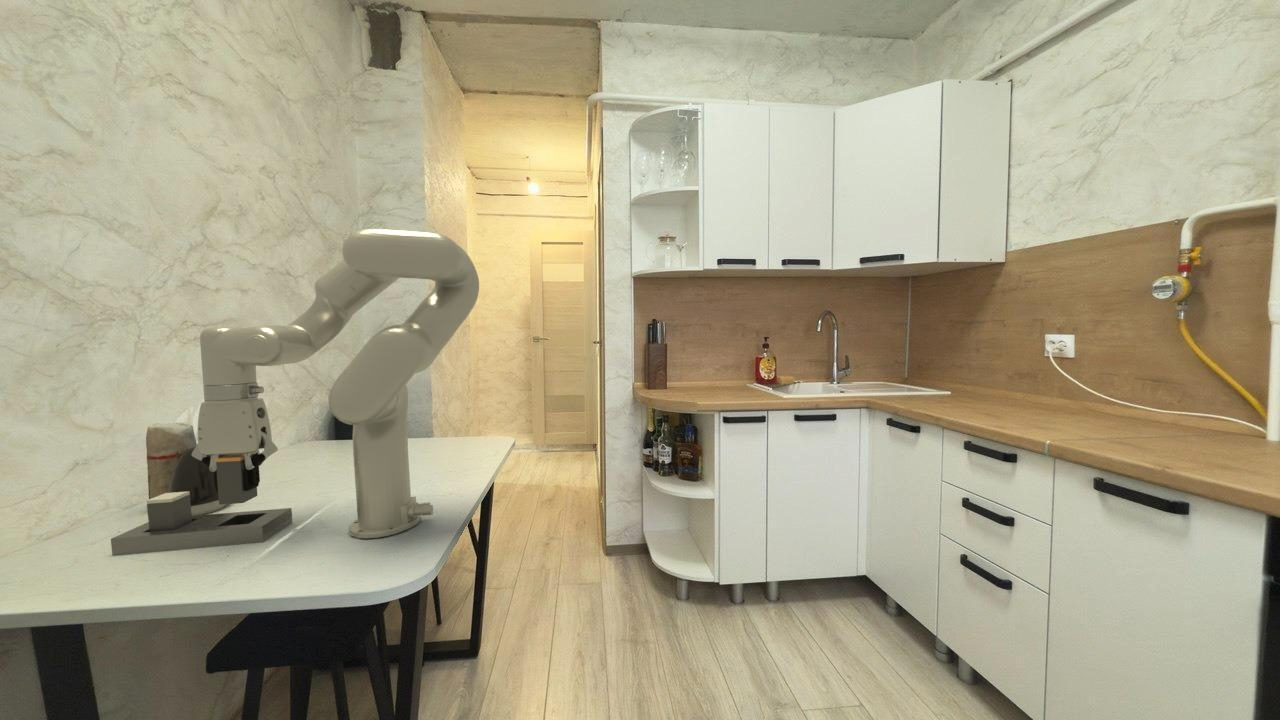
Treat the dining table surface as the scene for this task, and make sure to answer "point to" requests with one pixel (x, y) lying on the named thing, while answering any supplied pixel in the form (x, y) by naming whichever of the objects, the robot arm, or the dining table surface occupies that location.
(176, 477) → the dark grey dome
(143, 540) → the grey slotted tray
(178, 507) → the twin plug
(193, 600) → the dining table surface
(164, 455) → the tan rounded column
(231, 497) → the plug
